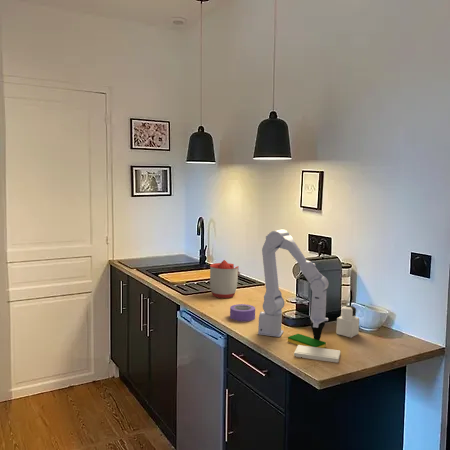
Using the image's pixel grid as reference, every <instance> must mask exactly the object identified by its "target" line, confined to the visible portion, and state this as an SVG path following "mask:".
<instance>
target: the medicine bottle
mask: <svg viewBox="0 0 450 450" xmlns="http://www.w3.org/2000/svg"><path fill="white" fill-rule="evenodd" d="M356 314H357V308H356V307H355V306H353V305H343V306H341V312H340V316H339V317H337V318H336V329H335V333H336V335H339V336H344V337H348V338H353V337H355V336H357V335H359V332H360V331H359V330H360V329H359V328H360V317H358V316H356Z"/></svg>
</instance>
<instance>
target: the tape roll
mask: <svg viewBox="0 0 450 450" xmlns="http://www.w3.org/2000/svg"><path fill="white" fill-rule="evenodd" d="M229 318H230V320H232V319H234V320H233V321H236V320H237V321H236V322H251V321H255V319H256V306H253V305H251V304H245V303H244V304H243V303H241V304H237V303H236V304H233V305H230V309H229Z"/></svg>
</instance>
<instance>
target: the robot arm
mask: <svg viewBox="0 0 450 450" xmlns="http://www.w3.org/2000/svg"><path fill="white" fill-rule="evenodd" d="M279 249H283V250H285V251H288V252H289V253H290V254H291V256H292V257H293V258H294V259H295V261H296V262H297V263H298V264H299V270H300V272H301V273H302V275H303V276H304V277H305V279H306V280H307V282H308V283H309V287H310V290H311V292H312V293H311V303H310V304H311V308H310V317H309V318H310V323H309V324H310V328H311V330H312V334H313V335H312V336H313V338H314V339H317V340H320V341H321V336H322V332H323V329H324V327H325V325H326V322H328V321H329V318H328V317H326V315H327V314H326V311H327V289H328V288H329V285H330V284H329V280H328V278H327V277H326V276H324V275H323V274H322V273H321V272H320V271H319V270H318V268H317V267H316V266H317V265H316V263H315V262H312V261H311V260H307V258H306V257H305V255H304V254H303V252H302V251H301V249H300V248H299V246H298V245H297V243H296V242H295V240H294V238H293V236H292V235H290V233H289V231H287V230H286V229H284V228H281V229H278V230H272V231H271V232H269V233H268V234H267V235H266V236H265V241H264V243H263V246H262V247H261V253H262V264H263V274H264V282H265V283H264V285H265V293H264V295H263V303H262V309H263V311H260V312H259V315H258V327H257V328H258V332H257V334H258V335H260V336H267V337H270V336H271V337H277V338H281V337H282V334H283V333H284V330H283V329H282V323H283V322H282V321H283V319H282V317H283V311H282V309H283V308H284V307H285V300H284V298H283V295H282V292H281V290H280V289H279V280H278V279H279V278H278V269H277V267H278V266H277V259H276V258H277V257H276V253H277V251H278V250H279Z"/></svg>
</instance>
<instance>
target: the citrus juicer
mask: <svg viewBox="0 0 450 450" xmlns="http://www.w3.org/2000/svg"><path fill="white" fill-rule="evenodd" d="M234 265H235V264H234V263H231V262H230V263H229V262H228V261H227V260H225V259H224V260H222V261H221V262H218V263H216V262H215V263H211V264H210V265H209V267H210V268H209V269H210V271H209V286H210V291H211V294H212V296H213V297H215V298H219V299H229V298H233V297H235V295H236V291H237V287H238V279H239V278H238V276H239V275H241V272H240V271H239V265H237V266H234Z"/></svg>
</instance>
